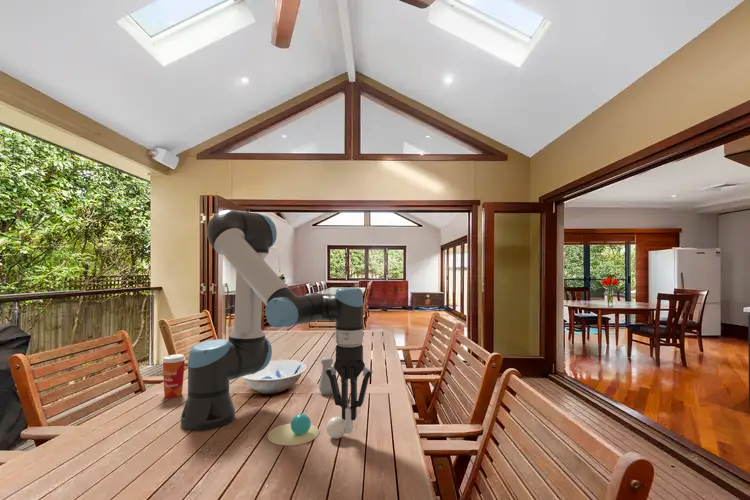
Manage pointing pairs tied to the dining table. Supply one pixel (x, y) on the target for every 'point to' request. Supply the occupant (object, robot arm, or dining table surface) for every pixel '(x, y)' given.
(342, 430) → the cue ball
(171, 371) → the paper cup
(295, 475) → the dining table surface
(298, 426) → the teal ball
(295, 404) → the dining table surface
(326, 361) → the salt shaker
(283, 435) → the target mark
